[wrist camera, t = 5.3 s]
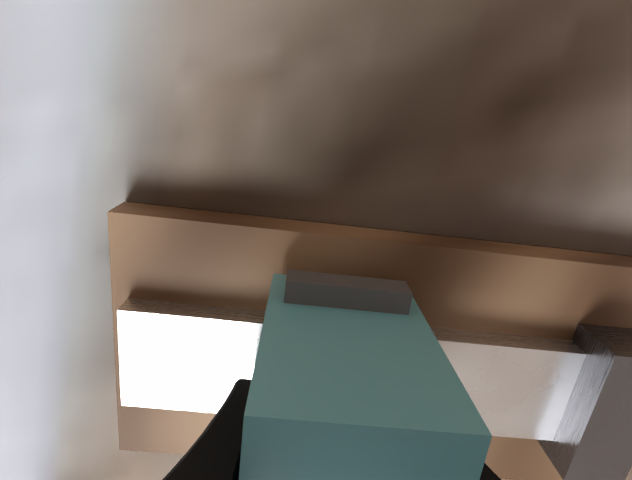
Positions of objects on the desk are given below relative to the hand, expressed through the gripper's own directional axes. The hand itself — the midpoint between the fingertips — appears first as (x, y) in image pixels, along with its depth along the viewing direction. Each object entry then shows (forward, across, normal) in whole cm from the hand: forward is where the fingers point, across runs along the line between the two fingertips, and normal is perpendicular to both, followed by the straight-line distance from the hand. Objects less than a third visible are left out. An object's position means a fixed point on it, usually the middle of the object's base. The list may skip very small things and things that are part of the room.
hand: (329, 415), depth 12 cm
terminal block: (+2, 0, 0) cm, 2 cm away
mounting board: (+4, -2, 0) cm, 4 cm away
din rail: (+2, -2, 0) cm, 3 cm away
